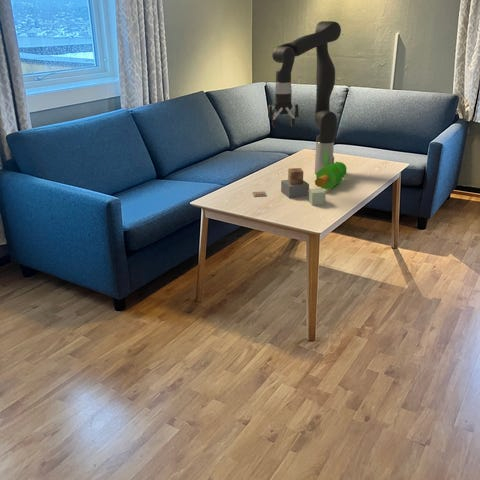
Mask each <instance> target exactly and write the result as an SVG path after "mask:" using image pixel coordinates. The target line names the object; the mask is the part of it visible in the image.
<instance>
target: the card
mask: <svg viewBox="0 0 480 480" xmlns="http://www.w3.org/2000/svg"><path fill="white" fill-rule="evenodd" d="M252 195H253V197H255V198H258V197H267V196H268V195H267V192H266V191H264V190H263V191H252Z"/></svg>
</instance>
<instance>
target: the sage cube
mask: <svg viewBox="0 0 480 480" xmlns="http://www.w3.org/2000/svg"><path fill="white" fill-rule="evenodd" d="M326 195H327V193H326V190H324V188H321V187H318V188H309V196H308V202H309V203H310V205H311V206H325V205H326Z"/></svg>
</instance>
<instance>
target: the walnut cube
mask: <svg viewBox="0 0 480 480" xmlns="http://www.w3.org/2000/svg"><path fill="white" fill-rule="evenodd" d="M287 175H288V177H287V180H288V181H289V183H290V185H293V184H303V180H304V170H303V169H302V168H301V167H297V168H296V167H295V168H293V167H292V168H288V169H287Z"/></svg>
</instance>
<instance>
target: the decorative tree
mask: <svg viewBox="0 0 480 480" xmlns="http://www.w3.org/2000/svg"><path fill="white" fill-rule="evenodd" d="M347 169H348V168H347V165H346V164H345V163H344V162H341V161H334V163H333V164H332V165H331V164H329V165H327V166H325V167H324V168H321V169H320V170H319V171H318V172H317V174H315V176H316V179H315V180H314V185H315V186H316V187H318V188H322V189H325V190H331V189H332V188H333V187H335V186H337V185H339V184H340V183H341V182H342V181H343V177H344V176H346V175H347Z"/></svg>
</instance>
